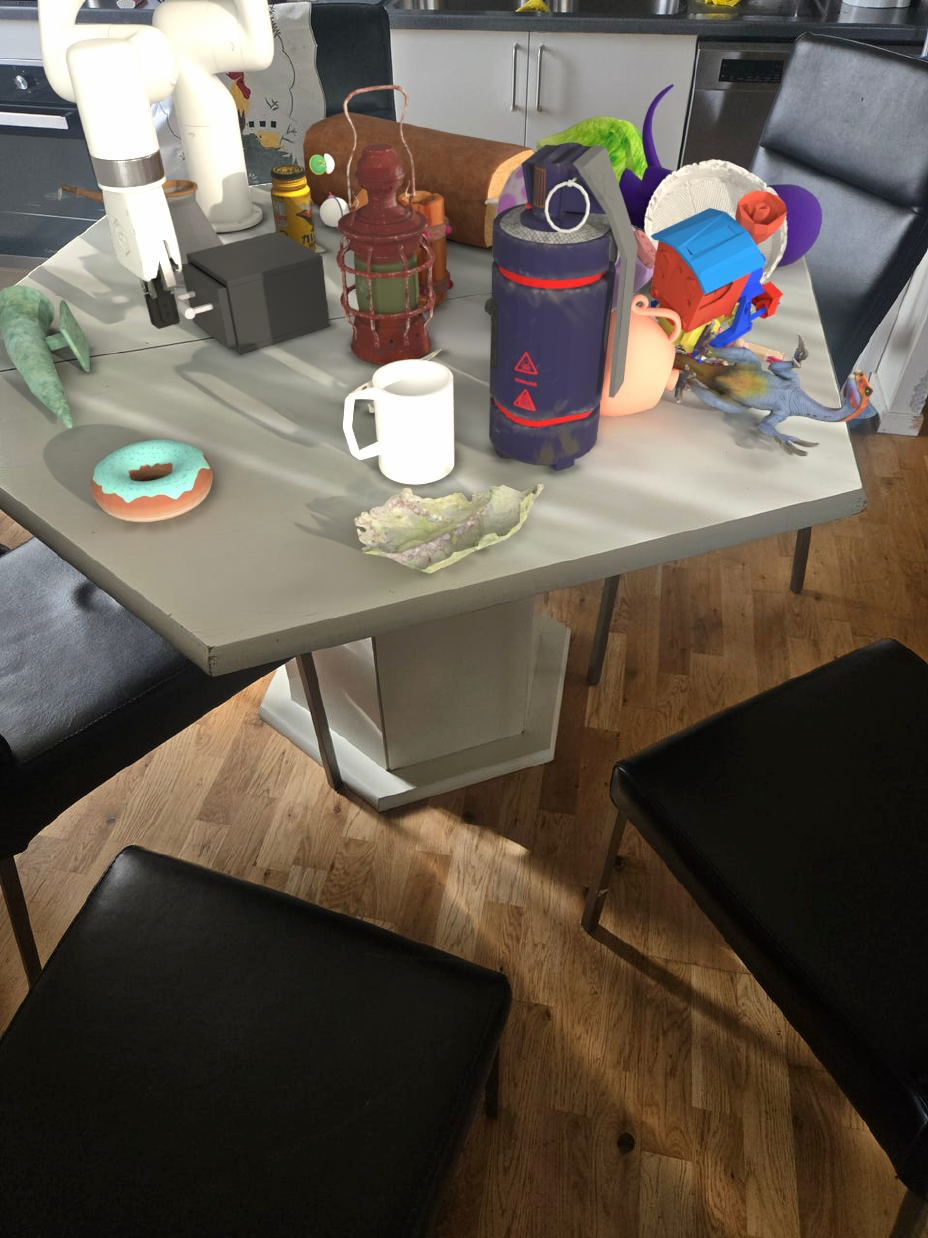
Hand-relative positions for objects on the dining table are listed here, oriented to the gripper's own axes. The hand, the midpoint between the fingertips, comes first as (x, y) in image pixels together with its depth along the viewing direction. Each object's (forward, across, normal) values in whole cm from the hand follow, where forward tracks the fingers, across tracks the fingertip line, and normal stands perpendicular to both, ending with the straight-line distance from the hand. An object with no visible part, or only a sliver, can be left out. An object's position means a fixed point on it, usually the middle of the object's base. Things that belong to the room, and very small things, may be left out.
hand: (166, 323), depth 114 cm
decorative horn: (+4, +11, -22) cm, 25 cm away
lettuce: (-11, -5, +83) cm, 84 cm away
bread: (+4, -22, +55) cm, 60 cm away
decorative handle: (+4, +18, +45) cm, 48 cm away
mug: (+4, +5, +34) cm, 34 cm away
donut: (+4, +29, -15) cm, 33 cm away
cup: (+4, +40, +8) cm, 41 cm away
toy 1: (0, -31, +42) cm, 52 cm away
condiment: (+4, -22, +30) cm, 38 cm away
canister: (+4, +48, +23) cm, 53 cm away
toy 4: (+3, +53, +56) cm, 77 cm away
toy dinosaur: (-4, +52, +40) cm, 66 cm away
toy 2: (0, +16, +65) cm, 67 cm away
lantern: (+4, +16, +23) cm, 29 cm away
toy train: (-3, +47, +49) cm, 68 cm away
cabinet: (+4, 0, +14) cm, 14 cm away
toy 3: (-7, +7, +76) cm, 77 cm away
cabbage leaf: (0, +61, +6) cm, 61 cm away
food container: (-6, +30, +69) cm, 75 cm away
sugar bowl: (-4, +43, +32) cm, 54 cm away
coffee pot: (+4, -23, +8) cm, 25 cm away
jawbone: (+5, +25, +19) cm, 32 cm away
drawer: (+3, 0, +10) cm, 10 cm away
